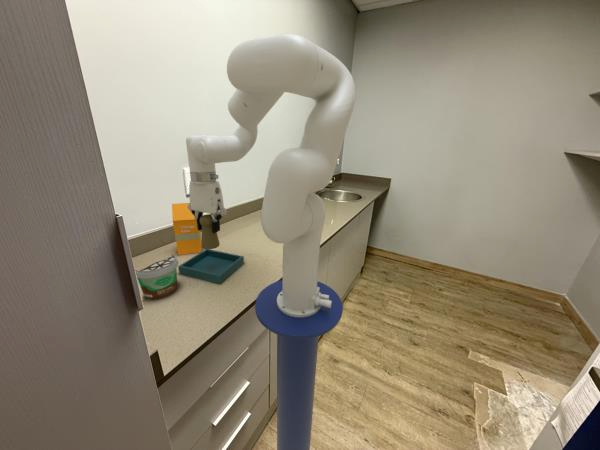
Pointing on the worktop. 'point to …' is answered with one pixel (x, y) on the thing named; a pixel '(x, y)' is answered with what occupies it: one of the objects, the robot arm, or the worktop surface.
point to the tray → (211, 265)
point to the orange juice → (185, 230)
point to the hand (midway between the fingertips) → (209, 229)
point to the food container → (159, 278)
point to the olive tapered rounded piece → (208, 233)
